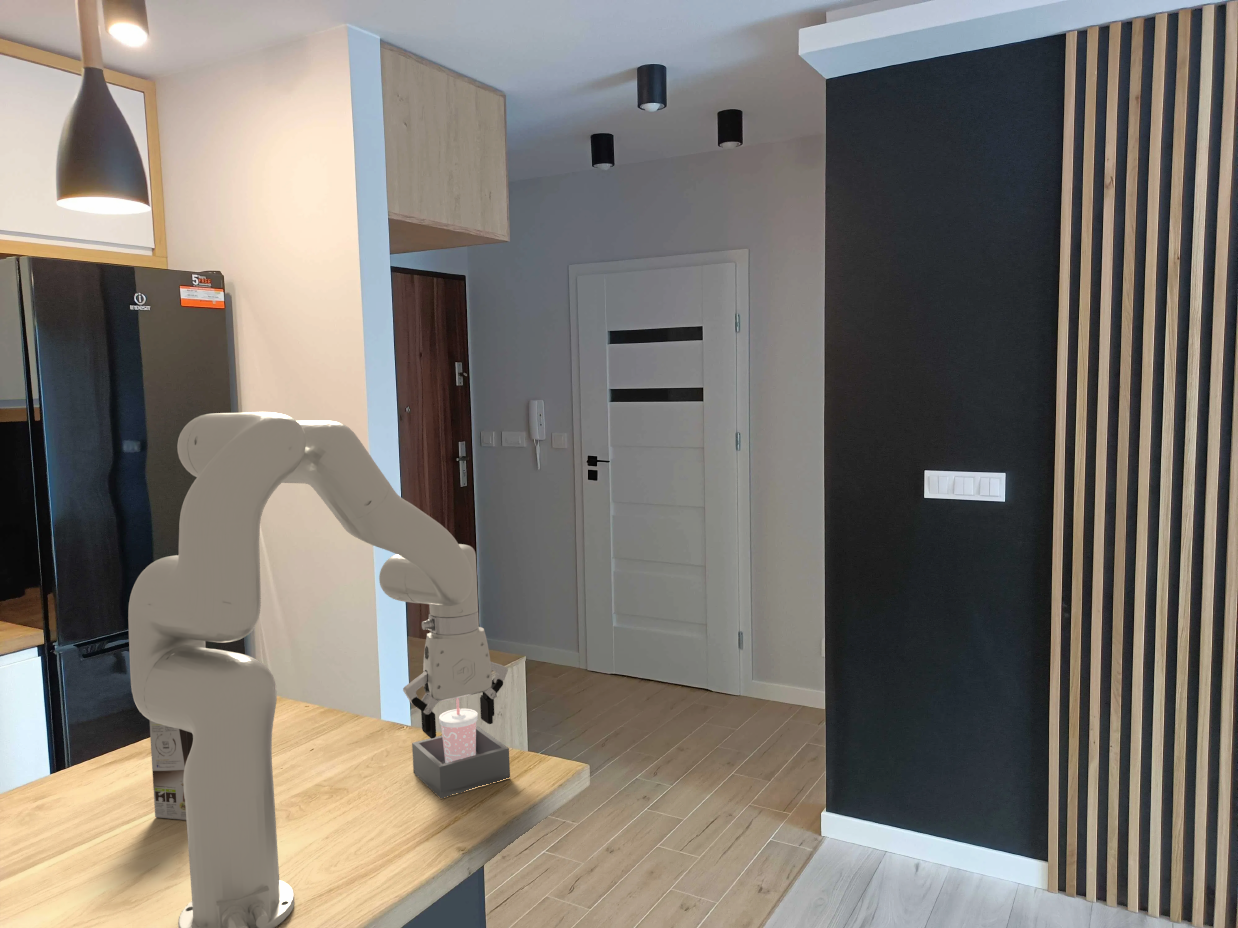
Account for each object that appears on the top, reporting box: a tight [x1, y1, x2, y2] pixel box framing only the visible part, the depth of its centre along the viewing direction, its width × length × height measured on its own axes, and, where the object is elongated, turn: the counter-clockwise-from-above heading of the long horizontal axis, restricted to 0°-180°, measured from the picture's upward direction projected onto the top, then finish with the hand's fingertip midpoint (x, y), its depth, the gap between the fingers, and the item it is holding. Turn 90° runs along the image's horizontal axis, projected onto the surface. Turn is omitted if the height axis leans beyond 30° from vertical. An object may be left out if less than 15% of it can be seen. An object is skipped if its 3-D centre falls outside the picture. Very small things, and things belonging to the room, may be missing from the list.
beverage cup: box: [438, 698, 479, 763], centre depth 141 cm, size 6×6×14 cm
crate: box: [411, 726, 511, 799], centre depth 141 cm, size 12×12×5 cm
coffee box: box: [148, 719, 193, 821], centre depth 133 cm, size 9×6×16 cm
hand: (459, 728), depth 141 cm, fingers open, 9 cm apart
